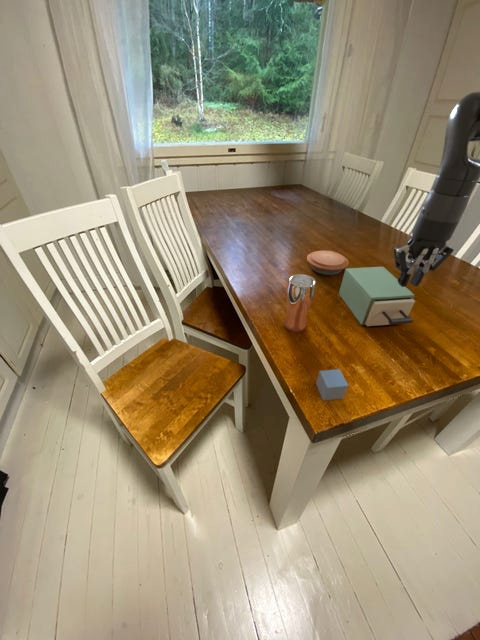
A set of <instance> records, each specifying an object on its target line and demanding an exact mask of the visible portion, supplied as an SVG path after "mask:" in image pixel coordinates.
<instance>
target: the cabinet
mask: <svg viewBox="0 0 480 640" xmlns="http://www.w3.org/2000/svg"><path fill="white" fill-rule="evenodd" d="M338 295H339V296H340V298H341V299H342V301H343V302H344V303H345V305H346V306H347V307H348V309H349V310H350V312H351V313H352V315H354V317H355V318H356V320H357V321H358V322H359V324H360V325H361V326H366V324H365V323H366V318H367V315H368V313H369V310H370V307H371V305H372V302H373V300H381V299H396V298H406V299H413V300H414V298H415V294H414V292H412V291H411V290H410V289H409V288H407V286H406V287H402V286H400V285H399V283H398V278H396V276H394V275H393V274H392V273H391V272H390V271H389V270H388V269H386V268H385V267H384V266H368V267H349V268H345V270H344V273H343V276H342V281H341V284H340V288H339V291H338Z"/></svg>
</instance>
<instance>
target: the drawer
mask: <svg viewBox="0 0 480 640" xmlns="http://www.w3.org/2000/svg"><path fill="white" fill-rule="evenodd" d="M415 303H416V300H415V299H414V298H413V299H406V298H396V299H381V300H373V302H372V305H371V307H370V310H369V313H368V315H367V318H366V323H365V324H366V325H365V326H366V327H374V326H375V327H376V326H389V325H401V324H403V325H404V324H412V323H413V322H414V318H413V317H409V315H410V313H411V311H412V309H413V307H414V305H415Z"/></svg>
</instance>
